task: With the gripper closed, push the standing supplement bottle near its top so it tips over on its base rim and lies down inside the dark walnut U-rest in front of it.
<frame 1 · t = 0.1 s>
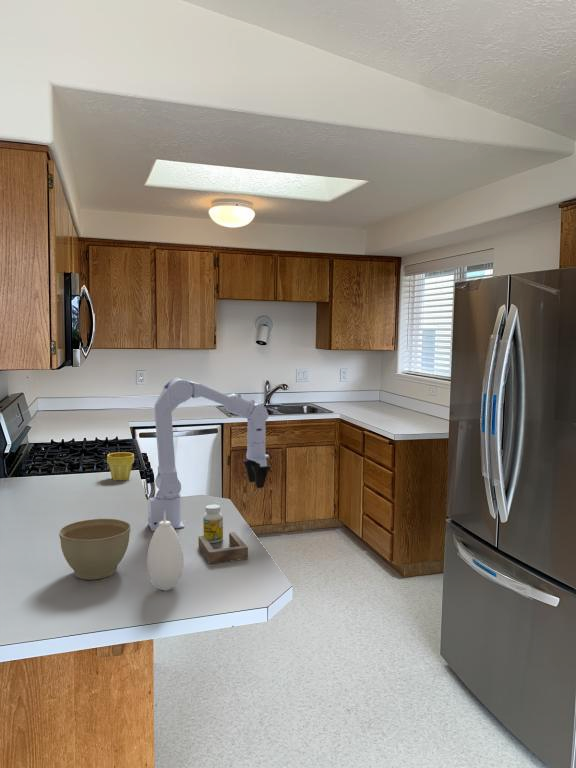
hand: (256, 484, 183), 10 cm above the table, fingers open, 7 cm apart
planter bowl: (96, 573, 139), on the table
u rest: (222, 552, 153), on the table
plant pot: (121, 479, 231), on the table
sauce bottle: (165, 589, 130), on the table
supplement bottle: (213, 540, 162), on the table
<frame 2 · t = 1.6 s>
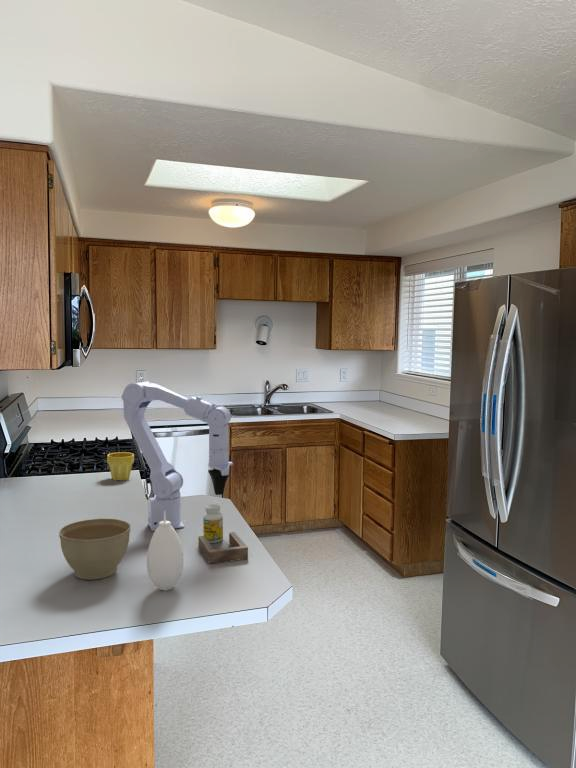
hand: (219, 494, 171), 10 cm above the table, fingers closed
nothing on the table moved.
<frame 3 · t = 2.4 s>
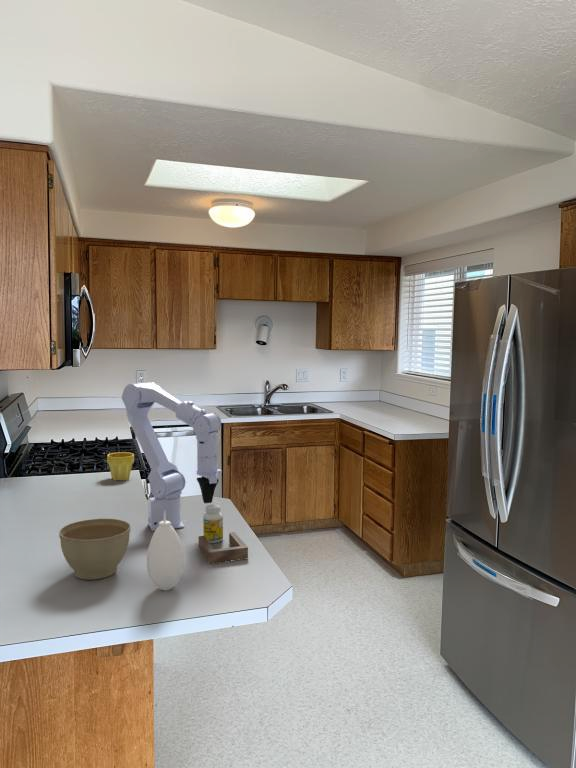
hand: (207, 502, 167), 9 cm above the table, fingers closed
nothing on the table moved.
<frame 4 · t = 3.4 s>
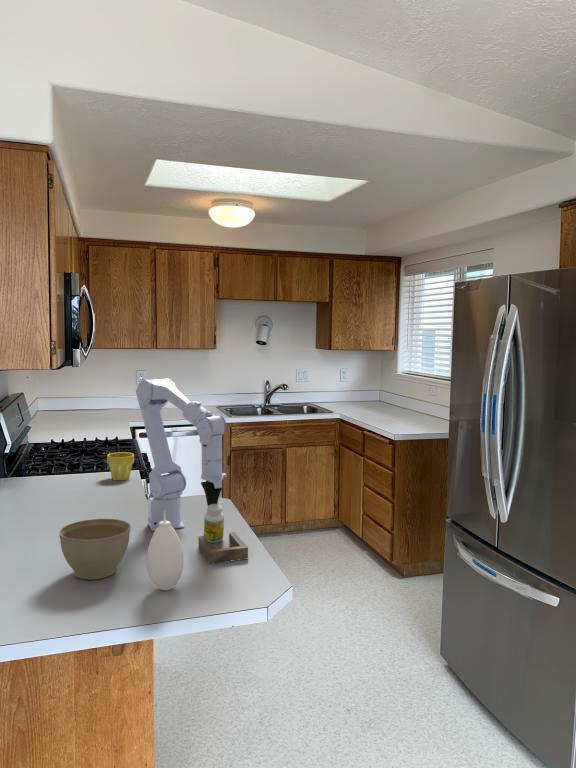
hand: (212, 507, 162), 9 cm above the table, fingers closed
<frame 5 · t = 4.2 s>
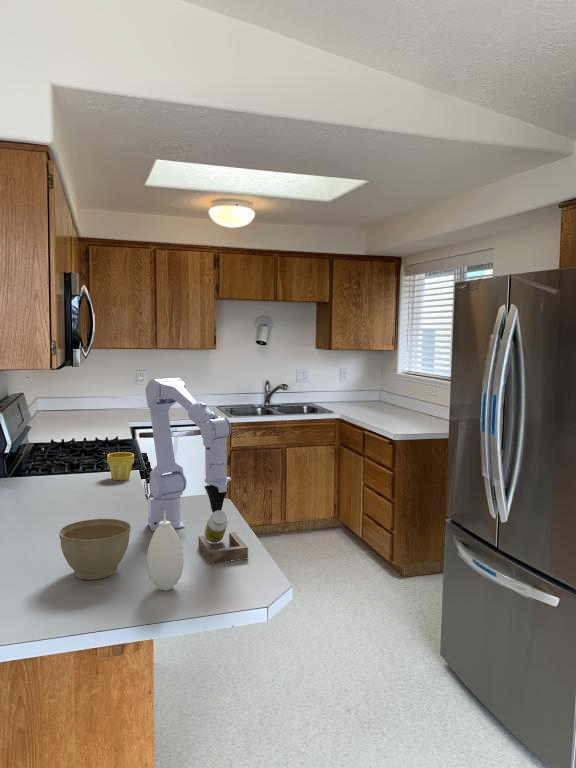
hand: (216, 512, 158), 9 cm above the table, fingers closed
supplement bottle: (213, 535, 161), point 2 cm above the table, touching gripper
everything else where it was.
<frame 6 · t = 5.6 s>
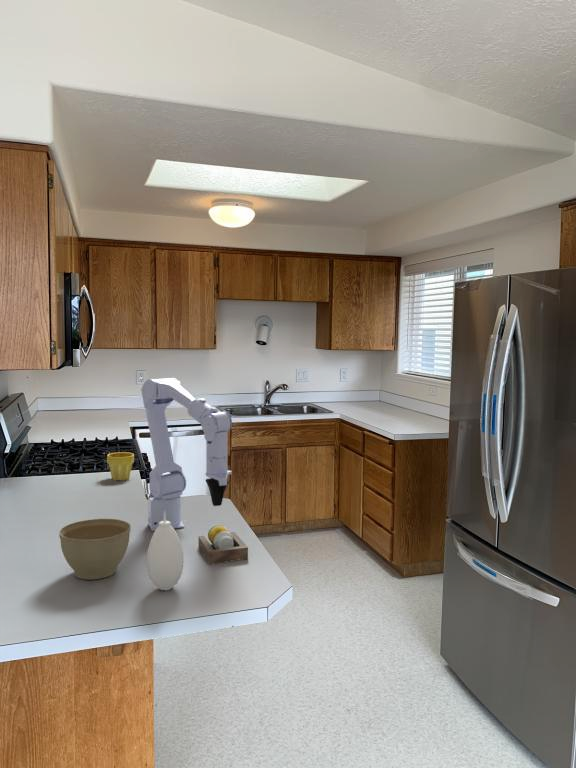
hand: (216, 505, 160), 10 cm above the table, fingers closed
supplement bottle: (216, 533, 159), point 3 cm above the table
everything else where it was.
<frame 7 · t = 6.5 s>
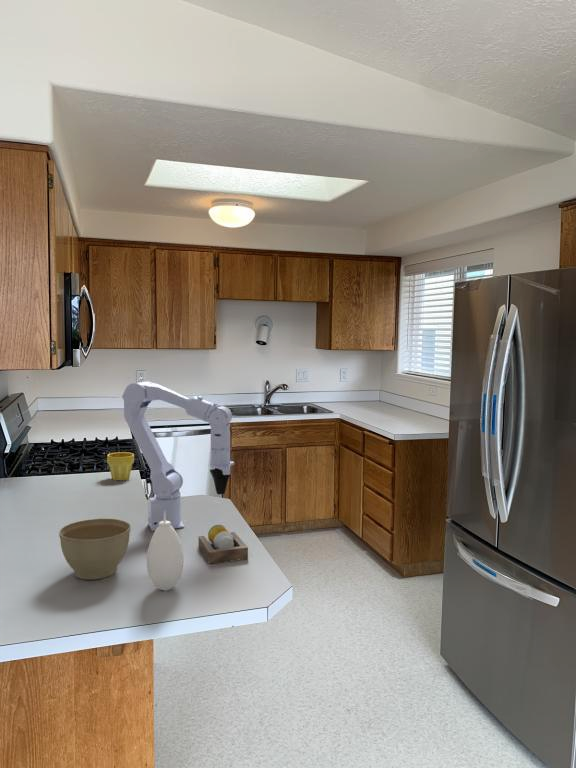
hand: (220, 493, 171), 10 cm above the table, fingers closed
nothing on the table moved.
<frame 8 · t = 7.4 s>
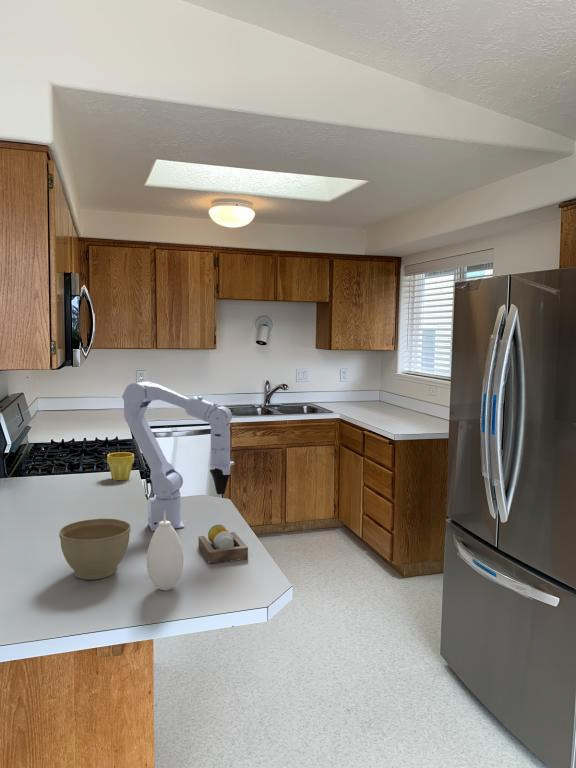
hand: (220, 493, 171), 10 cm above the table, fingers closed
nothing on the table moved.
at the end: supplement bottle tilted 90°; supplement bottle inside the target area on the u rest (4.1 cm from its centre), point 2.7 cm above the u rest's base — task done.
